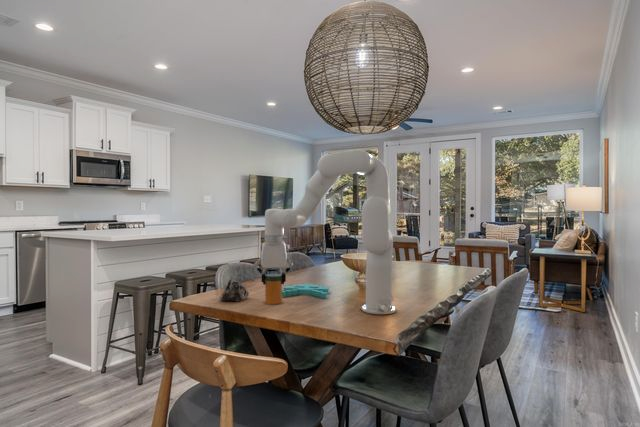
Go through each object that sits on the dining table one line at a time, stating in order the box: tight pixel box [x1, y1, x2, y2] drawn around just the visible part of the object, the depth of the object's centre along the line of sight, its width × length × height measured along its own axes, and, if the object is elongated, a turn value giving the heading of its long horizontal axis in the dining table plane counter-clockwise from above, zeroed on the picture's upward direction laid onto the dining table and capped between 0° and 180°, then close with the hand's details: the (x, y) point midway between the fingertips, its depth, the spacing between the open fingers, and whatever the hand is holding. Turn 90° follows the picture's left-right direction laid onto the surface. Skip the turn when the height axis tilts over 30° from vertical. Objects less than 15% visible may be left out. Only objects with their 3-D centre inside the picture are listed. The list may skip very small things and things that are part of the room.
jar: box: [264, 280, 283, 305], centre depth 165 cm, size 7×7×10 cm
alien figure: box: [282, 283, 330, 299], centre depth 184 cm, size 20×2×20 cm
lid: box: [265, 273, 282, 281], centre depth 165 cm, size 7×7×2 cm
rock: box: [219, 278, 250, 302], centre depth 169 cm, size 13×10×10 cm
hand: (273, 283), depth 165 cm, fingers closed on lid, 6 cm apart
